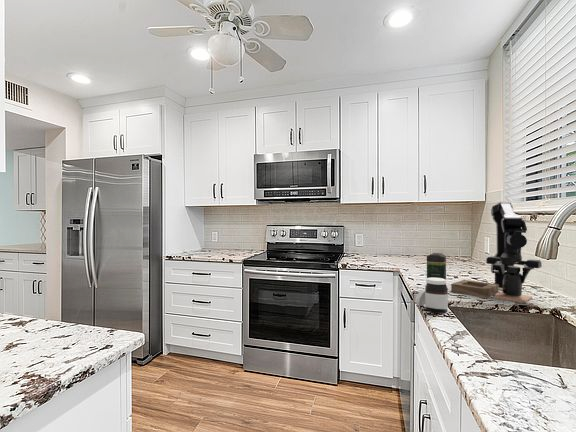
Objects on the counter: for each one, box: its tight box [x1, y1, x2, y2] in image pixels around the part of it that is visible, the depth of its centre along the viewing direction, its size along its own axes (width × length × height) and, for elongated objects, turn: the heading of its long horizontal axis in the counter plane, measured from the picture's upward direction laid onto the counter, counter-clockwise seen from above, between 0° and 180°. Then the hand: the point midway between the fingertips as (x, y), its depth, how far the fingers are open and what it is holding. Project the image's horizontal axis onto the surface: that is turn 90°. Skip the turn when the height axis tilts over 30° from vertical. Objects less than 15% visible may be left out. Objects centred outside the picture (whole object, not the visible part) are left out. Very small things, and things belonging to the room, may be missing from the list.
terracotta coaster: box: [493, 291, 533, 303], centre depth 137 cm, size 11×11×1 cm
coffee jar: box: [426, 252, 447, 280], centre depth 145 cm, size 10×8×19 cm
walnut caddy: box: [450, 279, 500, 298], centre depth 148 cm, size 15×15×4 cm
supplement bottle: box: [502, 265, 523, 296], centre depth 137 cm, size 7×7×12 cm
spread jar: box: [415, 277, 449, 314], centre depth 122 cm, size 12×11×12 cm
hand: (513, 282), depth 137 cm, fingers closed on supplement bottle, 7 cm apart
